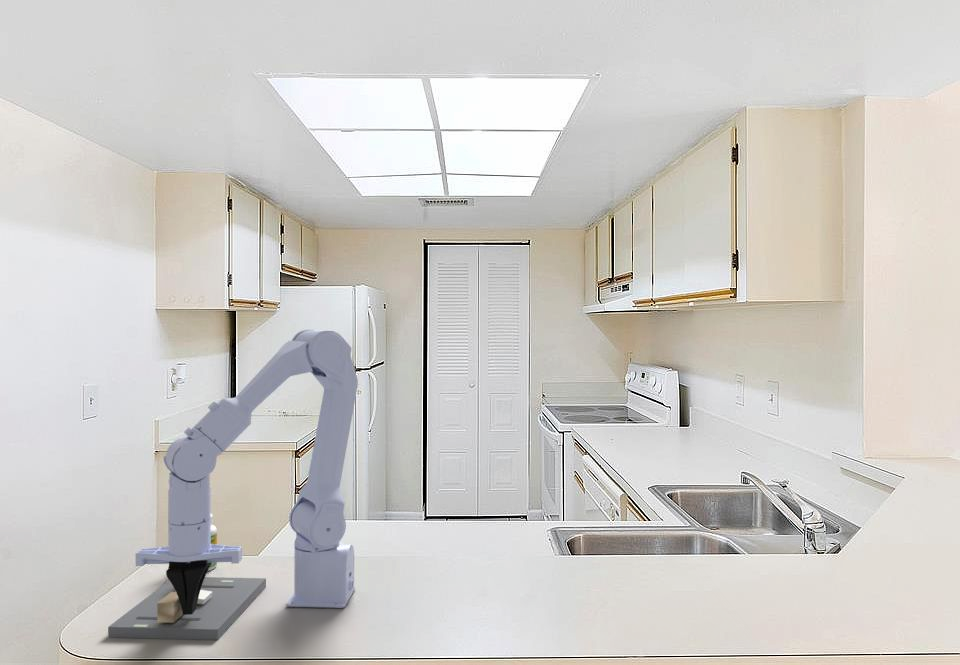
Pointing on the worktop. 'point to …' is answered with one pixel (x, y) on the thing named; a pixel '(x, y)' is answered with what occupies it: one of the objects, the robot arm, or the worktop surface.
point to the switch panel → (205, 620)
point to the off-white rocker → (204, 596)
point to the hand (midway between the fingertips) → (189, 611)
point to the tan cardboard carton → (169, 609)
